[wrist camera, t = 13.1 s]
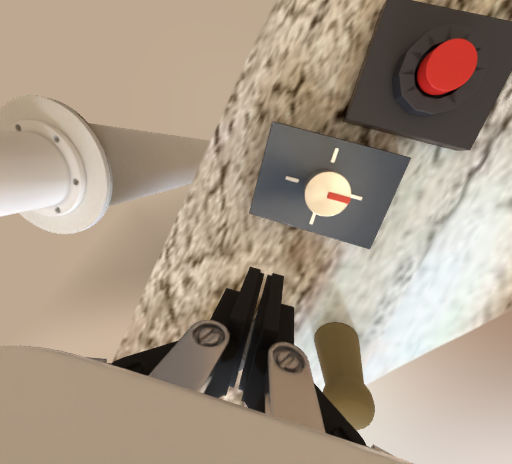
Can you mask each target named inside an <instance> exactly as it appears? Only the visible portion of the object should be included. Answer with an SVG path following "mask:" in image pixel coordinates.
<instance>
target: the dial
mask: <svg viewBox="0 0 512 464" xmlns="http://www.w3.org/2000/svg"><path fill="white" fill-rule="evenodd" d="M304 196H305V202H306V204H307V206H308V208H309V209H310V210H311V211H312V212H314V213H315V214H317V215H320V216H333V215H336V214H338V213H340V212H341V211H343V210H344V209H345V208H346V206H347V205H348V204H349V202H350V200H351V187H350V184H349V182H348V181H347V179H346V178H345V177H344V176H342V175H341V174H339V173H337V172H335V171H333V170H331V169H319V170H316V171H314V172H313V173H311V174H310V175H309V176H308V178H307V179H306V182H305V185H304Z"/></svg>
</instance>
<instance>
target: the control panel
mask: <svg viewBox="0 0 512 464" xmlns="http://www.w3.org/2000/svg"><path fill="white" fill-rule="evenodd" d="M410 159H411V158H410V157H406V156H402V155H399V154H395V153H391V152H387V151H383V150H380V149H376V148H372V147H368V146H364V145H361V144H357V143H353V142H349V141H345V140H342V139H338V138H334V137H330V136H326V135H323V134H319V133H315V132H311V131H307V130H304V129H300V128H296V127H292V126H288V125H285V124H281V123H277V122H272V126H271V130H270V133H269V137H268V141H267V145H266V149H265V153H264V157H263V161H262V165H261V169H260V173H259V177H258V181H257V184H256V188H255V192H254V196H253V200H252V204H251V208H250V212H249V213H250V214H253V215H256V216H260V217H263V218H266V219H270V220H273V221H276V222H280V223H283V224H287V225H290V226H293V227H297V228H300V229H303V230H307V231H310V232H313V233H317V234H320V235H324V236H327V237H330V238H334V239H337V240H340V241H344V242H347V243H350V244H354V245H357V246H360V247H364V248H367V249H370V248H371V246H372V244H373V241H374V239H375V237H376V235H377V232H378V230H379V228H380V226H381V224H382V221H383V219H384V217H385V215H386V212H387V210H388V208H389V206H390V204H391V201H392V199H393V197H394V195H395V192H396V190H397V188H398V186H399V184H400V181H401V179H402V177H403V175H404V172H405V170H406V168H407V166H408V164H409V161H410ZM319 169H331V170H333V171H335V172H337V173H339V174H341V175H342V176H344V177H345V178H346V179H347V181H348V182H349V184H350V187H351V200H350V202H349V204H348V205H347V206H346V208H345V209H344V210H343V211H341V212H340V213H338V214H336V215H333V216H320V215H317V214H315V213H314V212H312V211H311V210H310V209H309V208H308V206H307V204H306V202H305V196H304V185H305V182H306V179H307V178H308V176H309V175H310V174H311V173H313V172H314V171H316V170H319Z"/></svg>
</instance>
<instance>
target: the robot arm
mask: <svg viewBox="0 0 512 464" xmlns="http://www.w3.org/2000/svg"><path fill="white" fill-rule="evenodd" d="M86 182H87V180H86V171H85V167H84V164H83V161H82V158H81V156H80V154H79V152H78V150H77V149H76V147H75V145H74V144H73V143H72V142H71V140H70V139H69V138H68V137H67V136H66V135H65V134H64V133H63V132H62V131H61V130H59V129H58V128H56V127H54V126H53V125H51V124H48V123H46V122H43V121H37V120H27V119H25V120H20V121H17V122H15V123H13V124H11V125H10V126H9V127H8V128H7V129H6V130H0V216H5V215H10V214H14V213H19V212H24V211H29V210H32V211H34V212H36V213H39V214H41V215H45V216H60V215H64V214H67V213H70V212H72V211H73V210H75V209H76V208H77V207H78V206H79V205H80V204H81V202H82V200H83V198H84V195H85V191H86ZM260 271H261V270H260V269H256V268H253V267H250V268H249V271H248V273H247V276H246V278H245V281H244V283H243V286H242V288H241V291H240V292H239V291H236V290H232V289H229V288H226V290H225V292H224V294H223V296H222V298H221V300H220V302H219V304H218V306H217V308H216V310H215V311H214V313H213V315H212V317H211V319H210V320H202V321H199V322H197V323H195V324H194V325H192V326H191V327H190V329H189V330H188V331H187V332H186V333H185V334H184V335H183V337H182V338H181V339H180V340H179V341H176V342H173V343H169V344H166V345H163V346H159V347H156V348H153V349H150V350H146V351H143V352H140V353H137V354H133V355H130V356H127V357H123V358H121V359H119V360H116V361H115V362H113V363H112V364H111V363H107V360H106V359H99V358H89V357H82V356H78V355H75V354H71V353H67V352H63V351H59V350H53V349H47V348H41V347H31V346H0V464H413V463H410V462H408V461H405V460H403V459H400V458H397V457H395V456H393V455H391V454H389V453H388V452H386V451H384V450H382V449H380V448H379V447H377V446H375V445H372V447H371V448H370V447H368V446H366V444H365V442H364V440H363V438H362V437H361V436H360V434H359V433H358V432H357V431H356V430H355V428H354V427H353V426H352V425H351V424H350V423H349V422H348V421H347V420H346V418H345V417H344V416H343V415H342V414H341V413H340V412H339V411H338V409H337V408H336V407H335V406H334V405H333V404H332V403H331V402H330V400H329V399H328V398H327V397H326V396H325V395H324V394H323V393H322V392H321V390H320V389H319V388H318V387H317V386H316V385H315V384H314V382H313V377H312V373H311V369H310V365H309V361H308V359H307V356H306V355H305V354H304V352H303V351H302V350H301V349H300V348H298V347H297V346H295V345H294V307H291V306H288V305H284V304H281V301H282V290H283V280H284V276H281V275H278V274H274V273H273V274H272V276H270V275H268V276H267V279H266V283H265V287H264V290H263V294H262V297H261V301H260V305H259V308H258V312H257V316H256V319H255V323H254V327H253V331H252V335H251V339H250V343H249V347H248V352H247V356H246V360H245V364H244V368H243V372H242V376H241V381H240V385H239V390H242V391H243V396H242V400H241V401H244V402H245V403H246V405H247V407H248V408H247V407H243V406H240V405H237V404H234V403H231V402H228V401H225V400H222V399H219V397H221V396H223V395H225V396H226V394H227V390H228V387H229V386H230V387H233V388H234V386H235V382H236V379H237V375H238V371H239V368H240V364H241V360H242V357H243V353H244V349H245V346H246V342H247V338H248V334H249V331H250V327H251V323H252V319H253V316H254V312H255V308H256V304H257V300H258V296H259V292H260V289H261V285H262V281H263V277H264V274H263V273H260Z"/></svg>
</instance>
